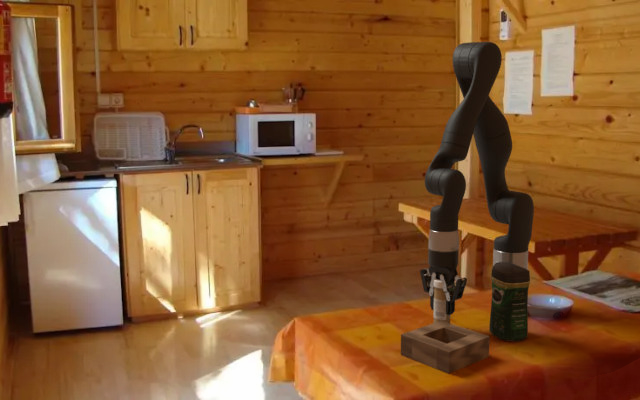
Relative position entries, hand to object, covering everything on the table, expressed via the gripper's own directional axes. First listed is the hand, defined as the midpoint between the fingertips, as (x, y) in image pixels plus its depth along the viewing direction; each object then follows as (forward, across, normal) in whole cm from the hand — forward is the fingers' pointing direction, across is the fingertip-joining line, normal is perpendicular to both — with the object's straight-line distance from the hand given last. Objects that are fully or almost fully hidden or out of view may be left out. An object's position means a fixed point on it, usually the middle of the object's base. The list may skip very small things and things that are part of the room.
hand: (442, 311), depth 186 cm
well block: (+5, -12, +13) cm, 18 cm away
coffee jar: (+5, -14, -9) cm, 17 cm away
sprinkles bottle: (+5, 0, 0) cm, 5 cm away
